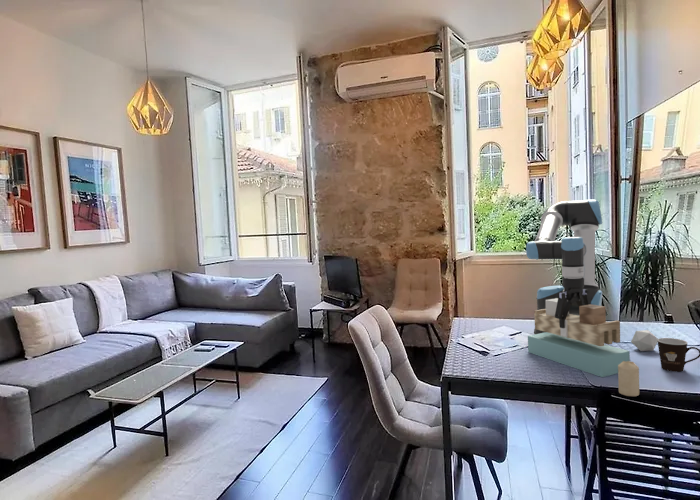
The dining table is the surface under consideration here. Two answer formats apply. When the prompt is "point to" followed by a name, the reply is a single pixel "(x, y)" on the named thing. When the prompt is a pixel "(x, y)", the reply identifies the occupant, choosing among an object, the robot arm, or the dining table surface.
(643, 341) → the die
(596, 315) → the brown wooden cube
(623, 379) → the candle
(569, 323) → the board
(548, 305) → the light grey cube
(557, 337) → the dock
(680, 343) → the coffee mug
